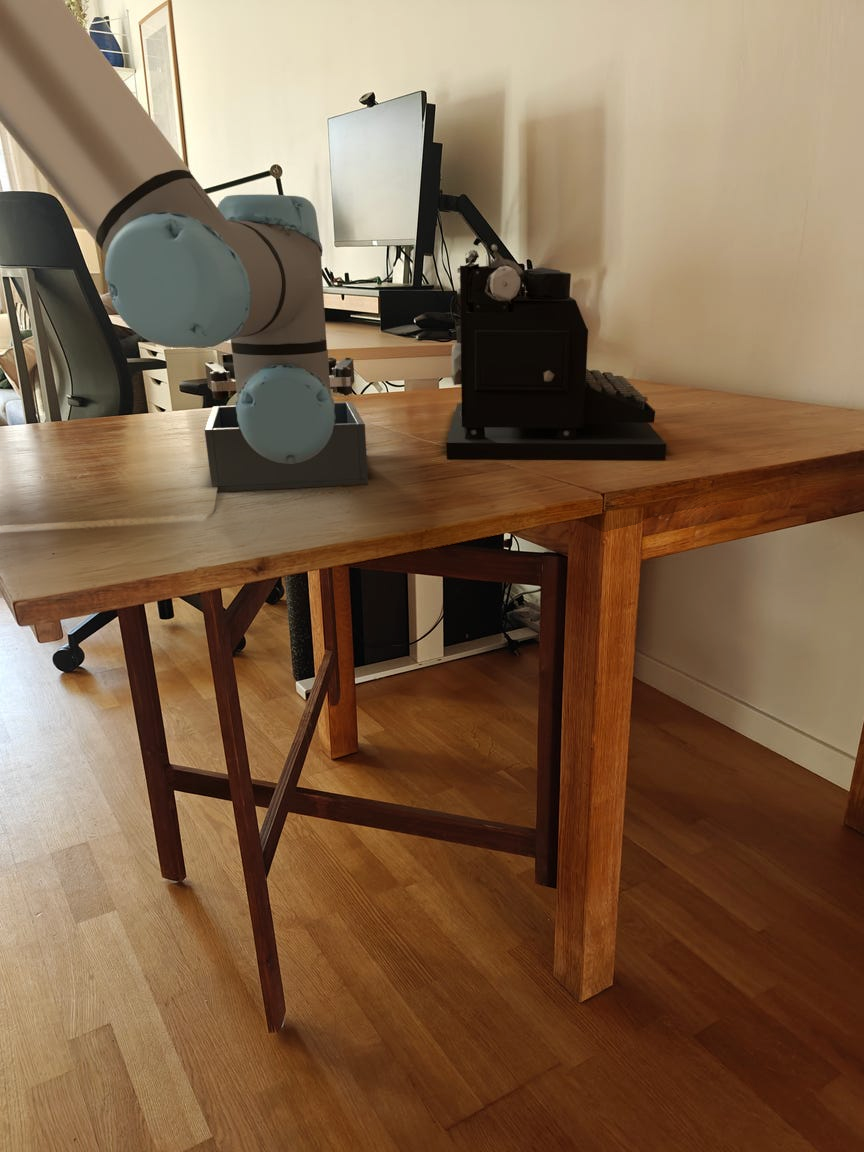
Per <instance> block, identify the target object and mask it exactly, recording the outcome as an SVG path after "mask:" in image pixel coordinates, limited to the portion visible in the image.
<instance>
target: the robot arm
mask: <svg viewBox="0 0 864 1152" xmlns="http://www.w3.org/2000/svg"><path fill="white" fill-rule="evenodd" d="M0 124H1V125H2V126H3V128H4V129H5V130H6V131H7V132H8V133H9V134H8V135H10V136H11V138H12V139H13V140H14V141H15V143H16V144H17V145H18V147H20V149H21V150H22V152H24V154H25V155H26V156H27V158H28V159H29V160H30V161H31V163H32V164H33V165H34V166H35V167H36V169H37V170H38V172H39V173H40V174H41V175H42V177H43V178H44V179H45V180H46V181H47V182H48V184H49V185H50V187H51V188H52V189H53V190H54V191H55V193H56V194H57V195H58V197H59V198H60V199H61V200H62V202H63V203H64V204H65V206H66V207H67V208H68V209H69V210H70V212H71V213H72V215H74V217H75V218H76V219H77V220H78V222H79V223H80V224H81V225H82V227H83V228H84V229H85V231H86V232H87V233H88V235H90V237H91V238H92V239H93V240H94V242H95V243H96V244H97V246H98V247H99V248H100V249H101V251H102V252H103V254H104V255H105V261H104V262H105V263H104V275H105V276H104V278H105V282H106V284H107V288H108V292H109V295H110V298H111V301H112V302H111V303H112V305H113V308H114V309H115V311H116V313H117V314H118V315H119V317H120V319H121V320H122V321H123V322H124V323H125V324H126V325H127V327H129V328H130V329H131V330H132V331H133V332H134V333H136V334H137V335H138V336H140V337H141V338H143V339H144V340H146V341H148V342H150V343H153V344H156V345H158V346H162V347H165V348H166V347H167V348H173V349H174V348H176V349H179V348H182V349H184V348H186V349H187V348H193V349H194V348H195V349H206V348H212V347H216V346H219V345H221V344H222V343H224V342H228V341H230V347H231V353H224V354H223V353H222V354H221V358H222V359H221V360H222V366H221V365H220V364H219V363H218V362H215V361H208V362H205V363H204V366H205V367H204V368H205V374H206V382H207V388H208V389H210V390H211V391H212V393H211V394H212V398H213V400H216V401H223V400H224V399H227V398H232V397H234V395H233V394H234V393H233V392H236V398H237V400H236V401H235V406H236V415H237V422H238V426H239V429H240V430H241V432H242V434H243V436H244V438H245V440H246V441H247V443H248V444H249V445H250V446H251V447H252V448H253V449H254V450H255V451H256V452H257V453H258V454H260V455H261V456H263V457H265V458H267V459H269V460H271V461H274V462H278V463H286V464H294V463H299V462H303V461H306V460H308V459H310V458H312V457H314V456H315V455H317V454H318V453H319V452H320V451H321V450H322V449H323V448H324V447H325V445H326V444H327V443H328V441H329V439H330V437H331V435H332V432H333V427H334V425H335V420H336V415H335V412H334V409H335V404H334V402H335V399H334V397H332V393H333V394H340V395H344V396H349V395H352V394H353V385H354V384H355V369H354V368H355V366H354V359H353V358H351V357H345V358H342V359H341V360H339V362H337V358H333V357H329V349H328V343H327V342H328V341H327V330H326V315H325V314H326V313H325V299H324V283H323V281H324V279H323V267H322V257H323V245H322V243H321V239H320V230H319V223H318V216H317V210H316V208H315V206H314V205H313V203H312V201H310V200H309V199H307V198H306V197H303V196H299V195H285V194H263V193H262V194H259V193H258V194H231V195H225V196H224V197H222V198H221V199H220V201H219V202H218V204H217V206H216V204H215V203H214V201H213V200H212V198H211V197H210V196H209V195H208V193H207V192H206V190H204V188H203V187H202V186H201V184H200V183H199V181H197V179H196V178H195V176H194V175H193V174H192V172H191V170H190V168H189V167H188V166H187V165H186V163H185V162H184V161H183V159H182V157H181V156H180V155H179V154H178V153H177V151H176V150H175V148H174V147H173V146H172V144H171V143H170V142H169V140H168V139H167V137H166V136H165V135H164V134H163V132H162V130H160V128H159V127H158V125H157V124H156V123H155V121H154V120H153V119H152V118H151V116H150V115H149V114H148V112H147V110H146V109H145V108H144V107H143V105H142V104H141V103H140V102H139V100H138V98H137V97H136V96H135V95H134V93H133V92H132V91H131V89H130V88H129V86H127V84H126V82H125V81H124V80H123V79H122V77H121V76H120V74H119V73H118V72H117V70H116V68H114V67H113V65H112V64H111V63H110V61H109V60H108V58H107V57H106V56H105V54H104V53H103V52H102V51H101V48H100V47H99V46H98V45H97V43H96V42H95V41H94V40H93V38H92V37H91V36H90V34H89V32H88V31H87V30H86V29H85V27H84V26H83V25H82V23H81V22H80V21H79V19H78V18H77V17H76V15H75V14H74V13H73V11H72V10H71V9H70V8H69V6H68V4H66V2H65V0H0ZM331 390H332V391H331ZM331 392H332V393H331Z"/></svg>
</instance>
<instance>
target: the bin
mask: <svg viewBox="0 0 864 1152" xmlns="http://www.w3.org/2000/svg"><path fill="white" fill-rule="evenodd" d="M334 404H335V409H334V412H335V415H336V420H335V425H334V427H333V432H332V435H331V437H330V439H329V441H328V443H327V444H326V445H325V447H324V448H323V449H322V450H321V451H320V452H319V453H318V454H317V455H315V456H314V457H312V458H310V459H308V460H306V461H303V462H299V463H294V464H286V463H278V462H274V461H271V460H269V459H267V458H265V457H263V456H261V455H260V454H258V453H257V452H256V451H255V450H254V449H253V448H252V447H251V446H250V445H249V444H248V443H247V441H246V440H245V438H244V436H243V434H242V432H241V430H240V429H239V426H238V422H237V415H236V405H216V406H215V405H214V406H212V408H211V411H210V414H209V417H208V419H207V423H206V425H205V428H204V436H205V446H206V452H207V460H208V461H207V462H208V469H209V477H210V485H211V487H212V488H213V487H214V488H215V487H217V489H216V493H226V492H227V493H229V492H230V493H231V492H246V491H247V492H248V491H266V490H283V489H285V490H286V489H304V488H325V487H344V486H345V487H346V486H361V485H362V486H363V485H369V479H368V478H369V477H368V459H367V457H368V456H367V438H366V437H367V436H366V424H365V422H364V420H363V418H362V417H361V415H360V413H359V412H358V410H357V409H356V406H355V405H354V403H353V401H337V402H335V401H334Z"/></svg>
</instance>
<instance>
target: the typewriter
mask: <svg viewBox="0 0 864 1152" xmlns="http://www.w3.org/2000/svg"><path fill="white" fill-rule="evenodd" d="M482 242H483V243H484V244H483V245H484V247H485V248H484V249H485V250H486V255H485V260H486V261H485V265H483V266H482V265H480V263H476V262H477V260H478V258H480V255H479V253H478V251H477V250H475V249H470V250H469V251H467V252H466V253H465V258H464V259H465V265H459V267H457V269H456V270H457V271H456V272H457V274H459V276H458V280H459V287H460V288H458V289H457V294H458V295H459V296H460V299H459V300H460V301H459V303H460V306H459V307H460V308H459V309H460V325H456V326H455V327H456V328H455V332H456V342H454V344H453V345H452V346H451V380H452V383H453V386H457V385H460V386H461V387H460V389H461V402H457V404H456V406H455V411H454V414H453V417H452V421H451V425H450V428H449V432H448V435H447V438H446V443H445V444H446V446H445V447H446V449H445V451H446V460H453V459H454V460H554V461H555V460H556V461H557V460H559V461H561V460H566V461H569V460H570V461H574V460H575V461H578V460H579V461H582V460H584V461H666V459H667V457H666V456H667V446H668V445H667V443H666V442H665V440H664V439H663V437H661V436H660V434H659V433H658V432H657V431H656V430H655V429H654V428H653V426H651V424H655V419H656V410H655V409H654V408H653V407H652V406H651V405H650V404H649V403H648V401H649V400H648V399H649V398H648V396H643V394H642V393H641V392H640V391H638V389H636V387H635V386H634V385H632V383H631V382H629V381H628V379H626V378H625V376H624V375H614V374H613V372H610V371H603V372H601V371H600V370H599V369H591V370H589V368H588V365H587V364H588V342H589V328H588V327H587V325H586V322H585V320H584V317H583V314H582V312H581V310H580V307H579V305H578V303H577V300H576V299H575V298H573V297H571V281H572V279H571V277H572V273H570V272H566V271H561V270H559V269H553V268H548V267H537V268H536V267H535V268H530V269H522V268H521V266H519V265H518V264H517V263H516V262H515V261H513V260H511V259H505V258H504V257H502V255H500V253H499V252H498V245H497V244H492V245H491V246H490V247H491V249H489V246H488V244H487V242H485V241H484V240H482V239H480V238H479V237H476V238H475V239H474V240H473V243H472V245H473V246H477V247H479V245H480V244H481V243H482ZM490 250H492V251H493V253H492V256H493V257H494V258H493V257H492V256H491V253H490ZM467 254H468V255H467ZM520 275H523V282H522V280H521V277H520Z"/></svg>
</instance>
